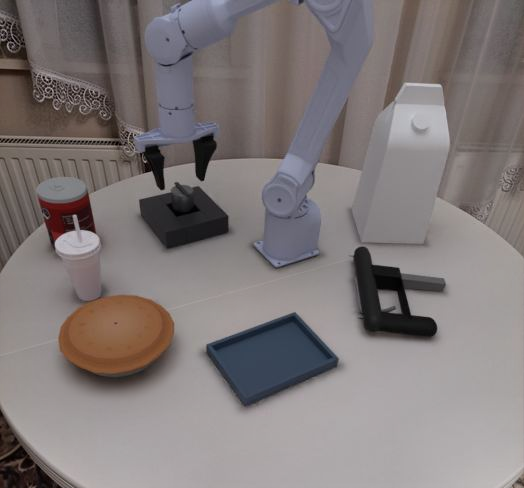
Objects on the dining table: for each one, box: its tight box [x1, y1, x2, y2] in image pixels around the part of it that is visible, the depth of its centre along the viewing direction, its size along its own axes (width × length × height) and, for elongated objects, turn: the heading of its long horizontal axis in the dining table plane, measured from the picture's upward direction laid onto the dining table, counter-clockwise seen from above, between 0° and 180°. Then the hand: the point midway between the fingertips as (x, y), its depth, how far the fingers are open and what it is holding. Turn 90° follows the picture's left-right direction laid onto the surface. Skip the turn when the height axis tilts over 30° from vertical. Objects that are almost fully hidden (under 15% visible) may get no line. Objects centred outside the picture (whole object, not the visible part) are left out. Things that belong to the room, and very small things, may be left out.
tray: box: [205, 311, 340, 407], centre depth 72 cm, size 15×11×2 cm
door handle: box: [348, 245, 447, 338], centre depth 83 cm, size 3×20×16 cm
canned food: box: [35, 176, 98, 252], centre depth 86 cm, size 8×8×11 cm
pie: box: [57, 294, 175, 378], centre depth 71 cm, size 16×16×5 cm
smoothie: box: [54, 215, 103, 302], centre depth 76 cm, size 6×6×14 cm
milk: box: [351, 82, 451, 245], centre depth 91 cm, size 12×12×26 cm
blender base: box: [138, 185, 229, 250], centre depth 95 cm, size 12×12×4 cm
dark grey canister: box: [170, 181, 194, 217], centre depth 94 cm, size 4×5×7 cm
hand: (180, 183), depth 90 cm, fingers open, 7 cm apart
